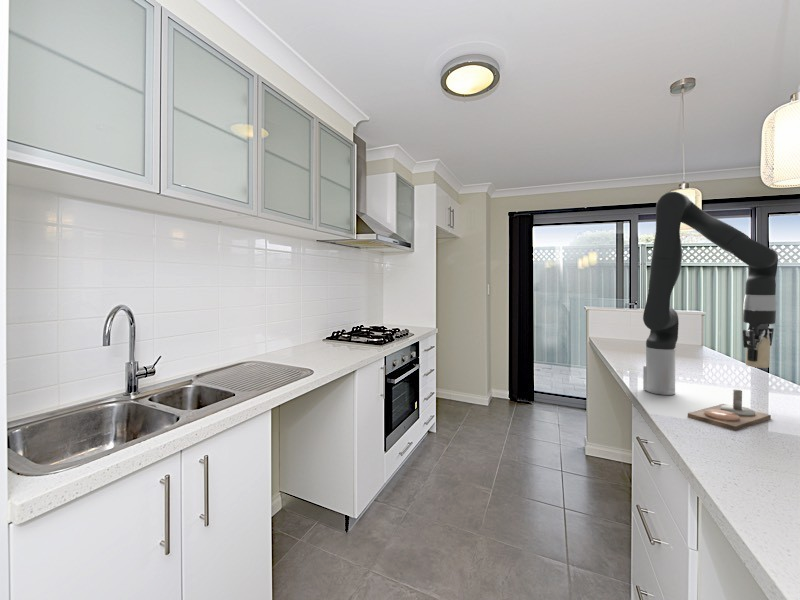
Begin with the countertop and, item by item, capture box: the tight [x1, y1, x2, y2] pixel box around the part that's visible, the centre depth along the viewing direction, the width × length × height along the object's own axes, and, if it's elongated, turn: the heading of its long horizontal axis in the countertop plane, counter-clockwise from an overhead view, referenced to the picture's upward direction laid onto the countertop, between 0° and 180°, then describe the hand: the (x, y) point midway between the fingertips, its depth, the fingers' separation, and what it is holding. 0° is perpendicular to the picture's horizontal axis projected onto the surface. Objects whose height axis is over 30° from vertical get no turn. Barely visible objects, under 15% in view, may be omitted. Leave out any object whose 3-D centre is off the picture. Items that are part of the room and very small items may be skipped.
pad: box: [705, 409, 739, 421], centre depth 111 cm, size 8×8×1 cm
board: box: [687, 388, 772, 431], centre depth 113 cm, size 12×20×8 cm, turn 114°
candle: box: [745, 337, 771, 369], centre depth 119 cm, size 6×6×10 cm
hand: (757, 359), depth 119 cm, fingers closed on candle, 5 cm apart
